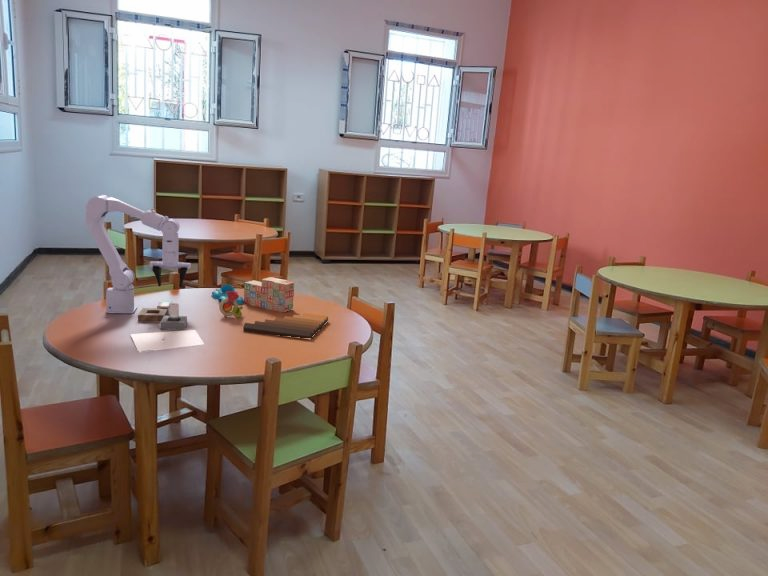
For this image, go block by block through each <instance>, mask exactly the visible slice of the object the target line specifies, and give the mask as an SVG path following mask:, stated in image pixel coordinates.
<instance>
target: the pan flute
mask: <svg viewBox="0 0 768 576" xmlns="http://www.w3.org/2000/svg"><path fill="white" fill-rule="evenodd" d="M327 321H329V317H328V316H327V315H320V314H312V313H304V312H302V314H293V315H292V316H286V315H284V317H283V318H281V317H280V318H279V317H274V320H273V319H265V320H264V321H258V320H255V321H254V323H250V322H244V325H243V327H242V330H243V332H246V333H254V334H263V335H268V334H269V335H268V336H275V335H280V336H279V337H283V336H291V337H300V338H311V337H312V336H313V335H314V334H315V333H316V332H317V331H318V330H319V329H320V328H321V327H322V326H323V325H324V324H325V323H326V322H327ZM327 323H328V322H327ZM327 323H326V324H327ZM326 324H325V325H326ZM320 330H321V329H320ZM315 335H316V334H315ZM312 338H313V337H312Z"/></svg>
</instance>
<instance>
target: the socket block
mask: <svg viewBox="0 0 768 576" xmlns="http://www.w3.org/2000/svg"><path fill="white" fill-rule="evenodd" d="M164 316H169V315H168V309H157V307H156V308H151V307H148V308H147V307H142V308H141V310H140V311H139V313H137V322H139V321H141V322H142V321H143V322H147V323H148V322H150V323H151V322H152V323H155V322H156V323H160V322H161V320H162V318H163V317H164ZM143 322H142V323H143Z"/></svg>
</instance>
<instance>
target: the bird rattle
mask: <svg viewBox="0 0 768 576" xmlns="http://www.w3.org/2000/svg"><path fill="white" fill-rule="evenodd" d="M226 293H227V296H228V298H225V299H223V300H222V301H221V303H220V304H218V305H219V311H220V313H221V314H222V315H223V317H224V318H227V317H231V316H236V318H240V317H241V316H243V312H242V310H243V309H244V307H243V305H238V304H237V302H236V301H235V299H238V298H239V296H240V295H239V294H238V292H235V291H231V292H230V291H228V292H226ZM226 302H230V303H232V304H230V303H226Z"/></svg>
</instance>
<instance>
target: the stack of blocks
mask: <svg viewBox="0 0 768 576" xmlns="http://www.w3.org/2000/svg"><path fill="white" fill-rule="evenodd" d="M243 285H244V286H243V290H244V291H243V293H244V294H243V300H244V304H246V305H249V306H250V305H251V306H254V307H259V308H262V309H266V310H270V309H271V310H270V311H274V310H276V311H275V312H278V311H280V312H279V313H282V312H285V311H288V310H291V309H294V308H293V307H294V295H295V282H294V281H290V280H287V279H282V278H277V277H273V276H270V277H265V278H262V279H261V281H259V280H254V279H253V280H250V281H249V280H248V281H245V282H244V284H243ZM291 311H292V310H291ZM288 312H289V311H288ZM285 313H286V312H285Z"/></svg>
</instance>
